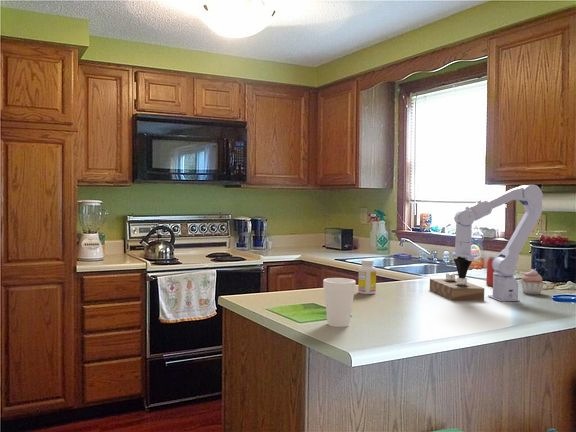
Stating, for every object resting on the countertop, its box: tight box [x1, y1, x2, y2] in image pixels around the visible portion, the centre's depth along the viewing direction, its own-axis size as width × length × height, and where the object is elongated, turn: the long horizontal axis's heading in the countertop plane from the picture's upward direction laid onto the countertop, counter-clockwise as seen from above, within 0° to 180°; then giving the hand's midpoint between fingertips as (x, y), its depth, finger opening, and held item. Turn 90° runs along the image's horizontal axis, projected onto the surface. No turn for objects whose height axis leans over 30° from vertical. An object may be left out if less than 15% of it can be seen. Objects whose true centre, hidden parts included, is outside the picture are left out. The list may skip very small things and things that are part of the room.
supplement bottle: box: [357, 259, 377, 295], centre depth 216 cm, size 7×7×13 cm
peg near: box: [456, 276, 468, 287], centre depth 211 cm, size 4×4×4 cm
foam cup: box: [322, 277, 357, 328], centre depth 164 cm, size 10×9×13 cm
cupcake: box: [519, 268, 545, 296], centre depth 223 cm, size 9×9×10 cm
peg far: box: [445, 272, 456, 282], centre depth 221 cm, size 4×4×4 cm
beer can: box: [485, 256, 496, 288], centre depth 240 cm, size 7×7×12 cm
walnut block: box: [429, 278, 485, 302], centre depth 216 cm, size 22×12×4 cm, turn 8°
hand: (462, 277), depth 211 cm, fingers closed
